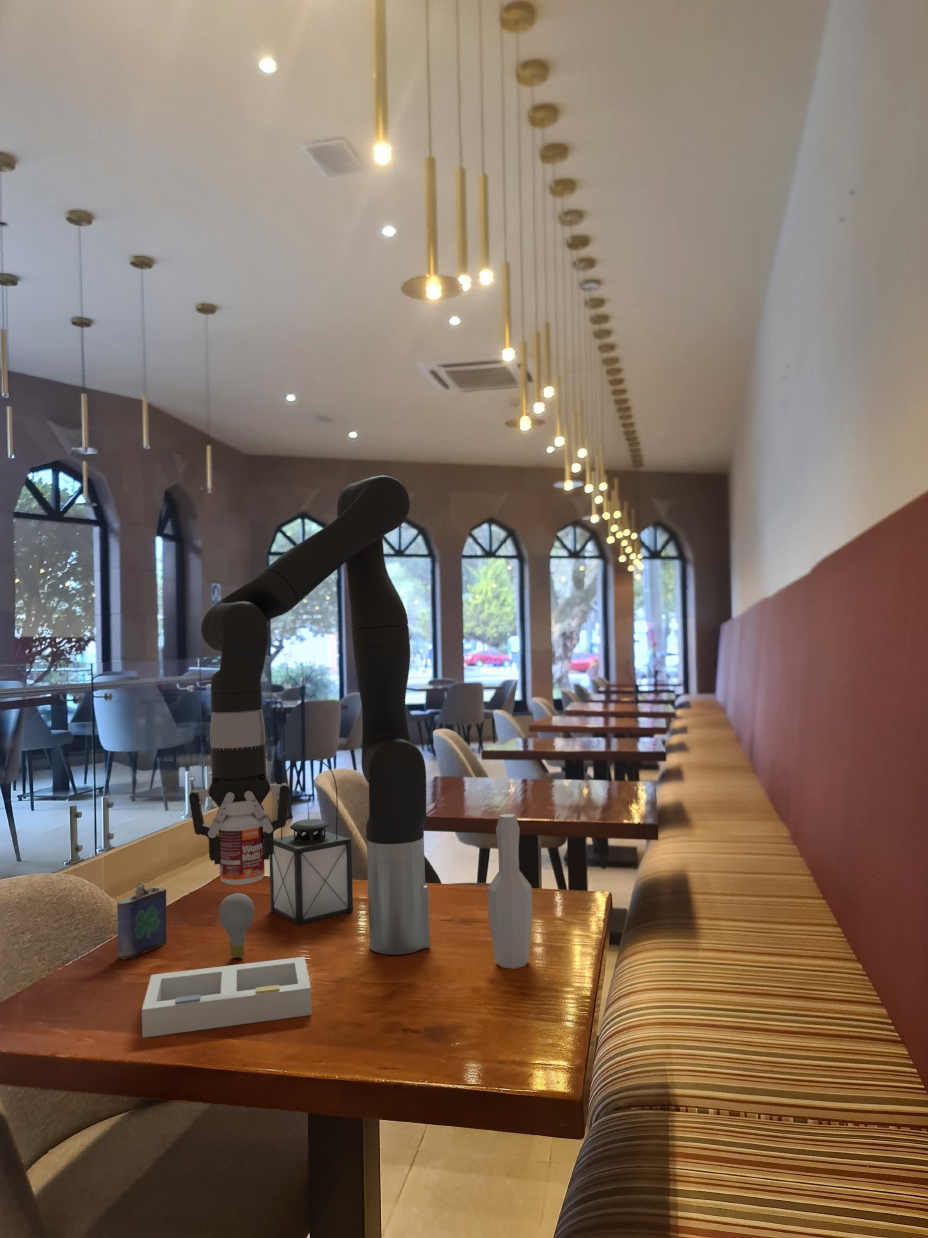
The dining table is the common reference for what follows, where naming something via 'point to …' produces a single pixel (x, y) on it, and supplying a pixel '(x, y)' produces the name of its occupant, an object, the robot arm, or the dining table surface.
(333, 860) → the lantern
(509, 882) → the faceted bottle
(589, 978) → the dining table surface
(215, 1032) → the dining table surface
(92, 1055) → the dining table surface
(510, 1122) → the dining table surface
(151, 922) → the flask
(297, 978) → the socket block
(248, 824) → the pill bottle
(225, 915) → the light bulb
